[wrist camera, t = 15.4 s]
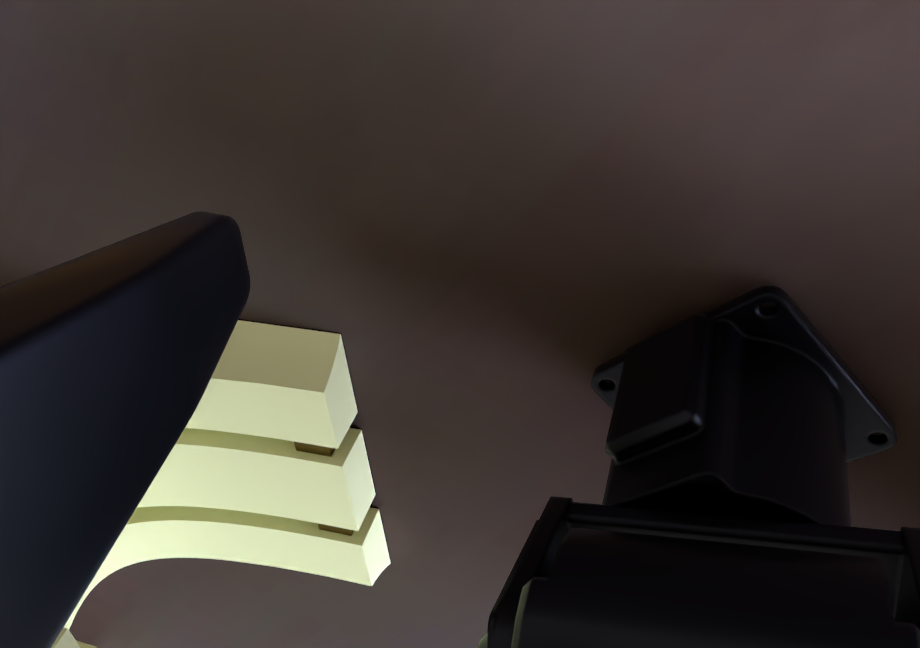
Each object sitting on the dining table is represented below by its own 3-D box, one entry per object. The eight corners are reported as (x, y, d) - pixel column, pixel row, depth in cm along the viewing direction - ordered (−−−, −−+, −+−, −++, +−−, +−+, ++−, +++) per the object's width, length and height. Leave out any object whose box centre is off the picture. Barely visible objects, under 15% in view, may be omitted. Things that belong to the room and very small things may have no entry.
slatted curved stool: (-144, 77, 28) (-979, 487, 15) (290, 101, 23) (-347, 715, 10) (143, 596, 46) (-110, 978, 33) (412, 663, 42) (243, 1133, 29)
